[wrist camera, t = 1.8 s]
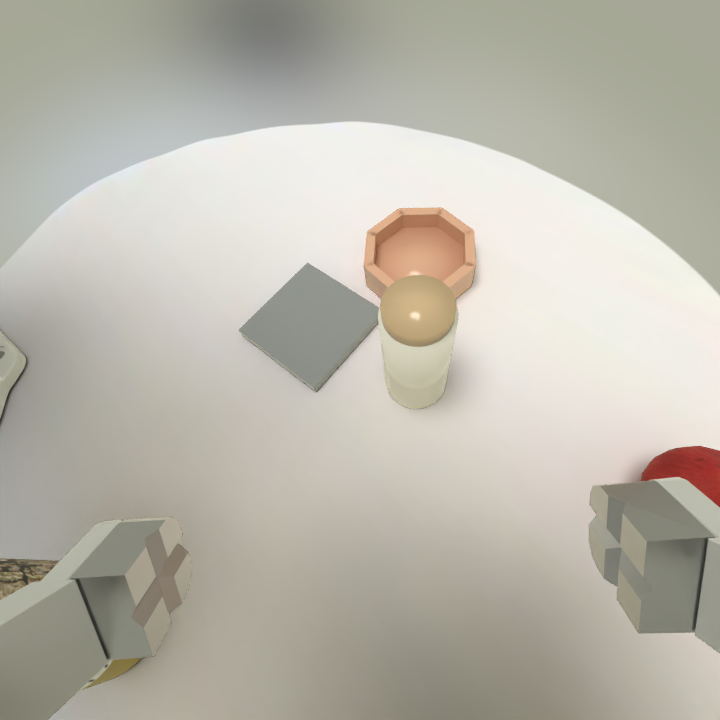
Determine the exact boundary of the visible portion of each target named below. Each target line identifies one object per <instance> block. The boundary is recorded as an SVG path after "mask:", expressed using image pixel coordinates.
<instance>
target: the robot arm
mask: <svg viewBox="0 0 720 720" xmlns="http://www.w3.org/2000/svg"><path fill="white" fill-rule="evenodd" d="M25 364H26V358H25V356H24V355H23V354H22V352H21V351H20V350H19V349H18V348H17V347H16V346H15V345H14V344H13V343H12V342H11V341H10V340H9V339H8V338H7V337H6V336H5V335H4V334H3V333H2V332H1V331H0V417H1V415H2V412H3V408H4V405H5V401H6V398H7V395H8V393H9V390H10V389H11V387H12V386H13V384H14V383H15V381H16V380H17V378H18V377H19V375H20V374H21V372H22V371H23V369H24V367H25ZM590 506H591V507H592V509H593V510H594V511H595V513H596V514H597V515H596V517H595V518H594V519H593V520H592V521H591V523H590V524H589V544H590V548H591V553H592V556H593V559H594V561H595V564H596V566H597V568H598V570H599V571H600V573H601V574H602V576H603V578H604V579H606V580H607V581H609V582H610V583H612V584H614V585H615V586H617V587H618V588H617V600H618V602H619V603H620V605H621V606H622V608H623V610H624V611H625V613H626V614H627V616H628V617H629V619H630V621H631V622H632V624H633V625H634V627H635V628H636V630H637V632H638V633H685V632H695V636H697V637H698V638H699V639H701V640H702V641H703V642H705V643H706V644H708V645H709V646H710V647H712V648H713V649H714V650H716V651H717V652H719V653H720V507H719V506H717V505H716V504H715V503H714V502H713V501H711V500H710V499H709V498H708V497H707V496H705V495H704V494H703V493H702V492H701V491H699V490H698V489H697V488H696V487H695V486H693V485H692V484H691V483H690V482H689V481H687V480H686V479H683V478H680V477H672V478H663V479H654V480H649V481H640V482H629V483H617V484H605V485H594V486H593V487H592V489H591V492H590ZM182 535H183V533H182V530H181V527H180V524H179V521H178V520H177V519H175V518H173V517H159V518H140V519H126V520H123V519H122V520H109V521H102V522H100V523H97V524H95V525H94V526H93V527H92V528H91V529H90V530H89V531H88V532H87V533H86V534H85V536H84V537H83V538H82V539H81V540H80V541H79V542H78V543H77V544H76V545H75V546H74V547H73V548H72V549H71V550H70V551H69V552H68V553H67V554H66V555H65V556H64V557H63V558H62V559H61V560H60V561H59V562H58V563H57V565H56V566H55V567H54V568H53V569H52V570H51V571H50V572H49V573H48V574H47V575H46V576H45V577H44V578H43V579H42V580H41V581H40V582H32V583H30V584H28V585H26V586H25V587H23V588H21V589H19V590H18V591H16V592H14V593H12V594H10V595H9V596H7V597H5V598H3V599H2V600H0V720H48V719H49V718H50V717H51V716H52V715H53V714H54V713H55V712H56V711H58V710H59V709H60V708H61V707H62V706H63V705H64V704H65V703H66V702H67V701H68V700H69V699H70V698H71V697H72V696H74V695H75V694H76V693H77V692H78V691H79V690H80V689H81V688H82V687H83V686H84V685H85V684H86V683H87V682H88V681H90V680H91V679H92V678H93V677H94V676H95V675H96V674H97V673H98V672H99V671H100V670H101V669H102V668H103V667H104V666H105V665H107V664H108V660H118V659H130V658H142V657H154V655H155V653H156V651H157V649H158V647H159V646H160V644H161V642H162V640H163V638H164V636H165V634H166V632H167V631H168V629H169V627H170V625H171V620H170V616H169V613H170V612H172V611H173V610H174V609H175V608H176V607H178V606H179V605H180V604H181V603H182V602H183V600H184V598H185V596H186V594H187V592H188V590H189V585H190V580H191V575H192V571H191V560H190V557H189V553H188V552H187V551H186V550H185V549H184V548H183V547H182V546H181V545H179V544H178V543H179V541H180V539H181V537H182Z"/></svg>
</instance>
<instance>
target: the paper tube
mask: <svg viewBox="0 0 720 720" xmlns="http://www.w3.org/2000/svg"><path fill="white" fill-rule="evenodd" d="M58 562H59V561H51V560H25V559H0V600H2V599H3V598H5V597H7V596H9V595H10V594H12V593H14V592H16V591H18V590H19V589H21V588H23V587H25V586H26V585H28V584H30V583H32V582H40V581H41V580H42V579H43V578H44V577H45V576H46V575H47V574H48V573H49V572H50V571H51V570H52V569H53V568H54V567H55V566H56V565H57V563H58ZM139 659H140V658H130V659H118V660H108V664H107V665H105V666H104V667H103V668H102V669H101V670H100V671H99V672H98V673H97V674H96V675H95V676H94V677H93V678H92V679H91V680H90V681H88V682H87V683H86V684H85V685H84V686H83V687H82V688H81V689H80V690H82V689H85V688H88V687H91V686H93V685H96V684H99V683H102V682H105V681H108V680H111V679H113V678H115V677H118V676H119V675H121V674H123V673H124V672H126V671H127V670H129V669H130V668H131V667H132V666H133V665H135V664H136V663H137V661H138V660H139ZM80 690H79V691H80Z"/></svg>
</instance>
